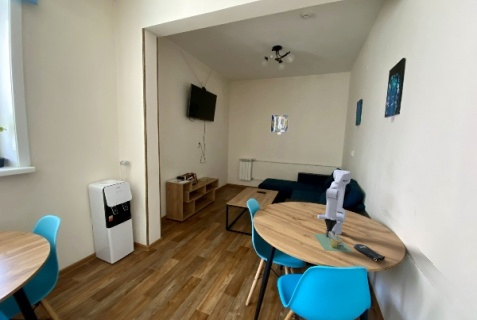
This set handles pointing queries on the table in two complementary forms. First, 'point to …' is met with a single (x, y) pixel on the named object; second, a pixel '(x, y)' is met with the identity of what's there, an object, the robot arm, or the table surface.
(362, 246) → the electronic device
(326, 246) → the board
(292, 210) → the table surface
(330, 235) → the silver long flat bar
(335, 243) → the tan stepped block
